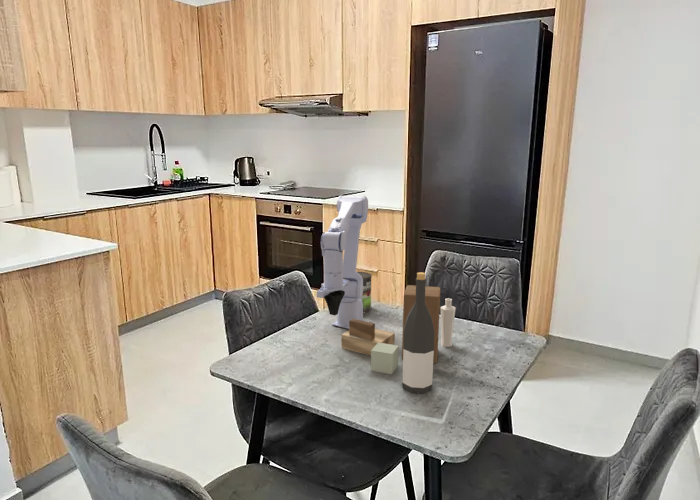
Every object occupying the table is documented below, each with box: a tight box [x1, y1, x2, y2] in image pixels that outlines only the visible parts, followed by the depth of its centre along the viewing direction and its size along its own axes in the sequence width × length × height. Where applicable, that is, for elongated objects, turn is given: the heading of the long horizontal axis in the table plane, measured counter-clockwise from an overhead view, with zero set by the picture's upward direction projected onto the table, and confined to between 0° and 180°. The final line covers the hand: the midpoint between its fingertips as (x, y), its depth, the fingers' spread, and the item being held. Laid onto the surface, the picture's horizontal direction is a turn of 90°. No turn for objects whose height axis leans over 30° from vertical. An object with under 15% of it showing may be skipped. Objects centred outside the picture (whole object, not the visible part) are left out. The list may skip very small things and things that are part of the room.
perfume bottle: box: [440, 297, 457, 348], centre depth 149 cm, size 5×4×15 cm
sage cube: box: [370, 343, 400, 375], centre depth 134 cm, size 6×6×6 cm
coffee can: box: [343, 271, 373, 314], centre depth 180 cm, size 10×10×14 cm
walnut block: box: [348, 319, 376, 342], centre depth 144 cm, size 2×8×5 cm, turn 58°
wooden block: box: [401, 284, 441, 364], centre depth 141 cm, size 10×10×20 cm
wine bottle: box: [401, 271, 434, 394], centre depth 121 cm, size 8×8×30 cm
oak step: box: [341, 328, 396, 357], centre depth 148 cm, size 10×13×4 cm
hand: (333, 314), depth 148 cm, fingers closed
